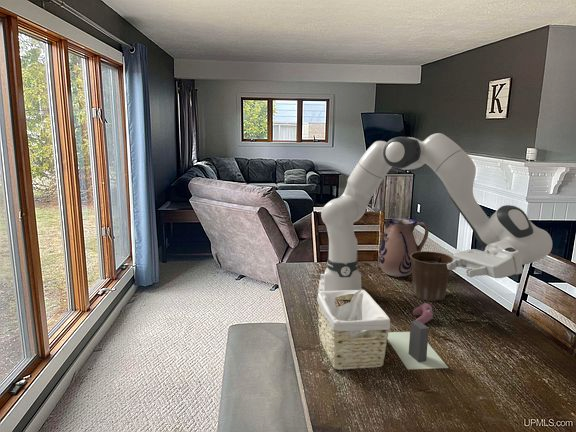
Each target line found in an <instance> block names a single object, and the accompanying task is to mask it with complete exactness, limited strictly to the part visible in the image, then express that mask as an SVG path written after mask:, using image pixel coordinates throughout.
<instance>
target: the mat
mask: <svg viewBox="0 0 576 432" xmlns="http://www.w3.org/2000/svg"><path fill="white" fill-rule="evenodd" d="M409 340H410V331H393V332H392V331H389V332H388V338H387V342H389V344H390V345H391V346H392V348H393V350H394V351H395V353H396V354H397V356H398V358H399V359H400V360H401V362H402V363H403V365H404V366H405V368H406V369H407V370H429V369H430V370H431V369H449V366H448V365H447V364H446V362H444V361H443V359H442V358H441V357H440V356H439V354H438V353H437V352H436V351H435V349H434V348H432V346H431V345H430V344H429V343H428V345H427V358H426V361H424V362H417V361H416V360H415V359H414V358H413V357H412V356H411V355H409Z"/></svg>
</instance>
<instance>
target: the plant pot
mask: <svg viewBox="0 0 576 432" xmlns="http://www.w3.org/2000/svg"><path fill="white" fill-rule="evenodd" d="M410 257H411V265H412V273H411V274H412V295H413V296H414V297H416V298H417V299H419V300H422V301H426V302H437V301H440V302H441V301H443V300H444V299H445V298H446V292H447V288H448V287H447V286H448V282H449V277H450V273H451V272H450V271H451V270H449V269H447V264H448V263H451V262H453V256H451V255H449V254H445V253H443V252H439V251H428V250H427V251H422V250H421V251H420V252H414V253H412V254H411V255H410Z"/></svg>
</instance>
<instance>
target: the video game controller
mask: <svg viewBox="0 0 576 432" xmlns="http://www.w3.org/2000/svg"><path fill="white" fill-rule="evenodd" d="M412 315H413V316H419V317H418V318H416V319H415V320H414V321H420V322H421V323H423V324H424V325H426V323H428V322H430V321H431V320H432V319H434V312H433V306H432V305H431V304H429V303H426V302H424V303H422V304H420V305H419V306H418V307H416V308H414V309H413V310H412Z"/></svg>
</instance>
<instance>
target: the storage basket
mask: <svg viewBox="0 0 576 432" xmlns="http://www.w3.org/2000/svg"><path fill="white" fill-rule="evenodd" d="M340 300H341V301H343V300H344V301H349V302H346V303H344V304H342V305H340V306H337V305H336V301H340ZM316 301H317V303H318V314H317V315H318V335H319V339H320V341H321V345H322V347H323V349H324V351H325V353H326V354H327V356H328V359H329V361H330V363H331V365H332V368H333V369H334V370H338V371H339V370H356V369H367V368H369V369H370V368H371V369H372V368H381V367H383V366H384V362H385V355H386V348H387V343H388V339H387V338H388V332H390V330H391V319H390V317H389V316H388V314H386V312H385V311H384V310H383V308H381V306H380V305H379V304H378V303H377V302H376V300H375V299H374V298H373V297H372V296H371V295H370V294H369V293H368V292H367V291H366V290H365V289H364V290H343V291H321V292H320V293H318V292H317V297H316Z"/></svg>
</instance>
